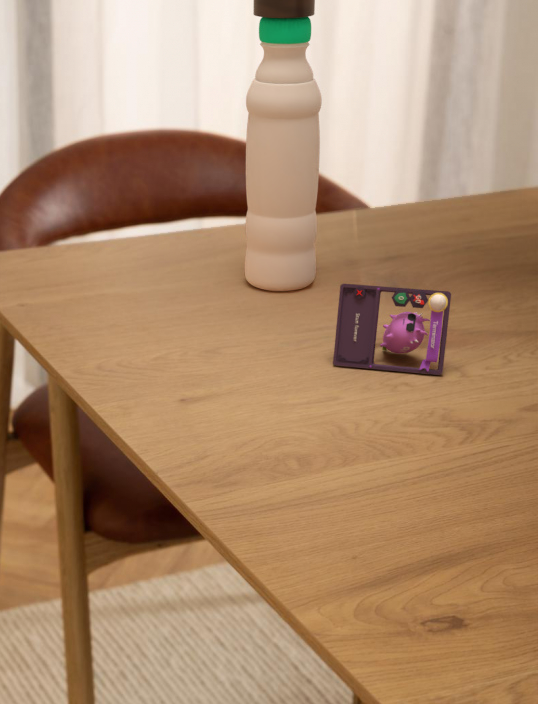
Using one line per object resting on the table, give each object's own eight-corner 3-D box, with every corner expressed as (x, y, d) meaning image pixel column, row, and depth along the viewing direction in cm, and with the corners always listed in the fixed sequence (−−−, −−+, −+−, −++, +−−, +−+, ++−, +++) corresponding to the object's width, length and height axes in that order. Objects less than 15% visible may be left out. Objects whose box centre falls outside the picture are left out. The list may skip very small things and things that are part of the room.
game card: (339, 282, 97) (450, 291, 95) (347, 285, 102) (453, 293, 100) (331, 365, 98) (441, 375, 96) (340, 363, 103) (445, 373, 101)
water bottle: (246, 293, 115) (248, 19, 104) (242, 271, 121) (244, 10, 110) (319, 292, 115) (329, 18, 104) (311, 270, 122) (320, 10, 110)
